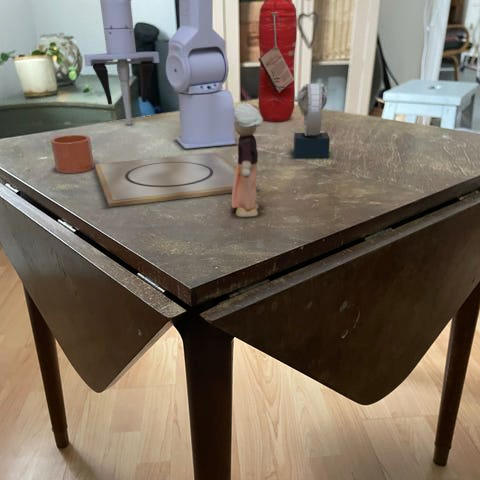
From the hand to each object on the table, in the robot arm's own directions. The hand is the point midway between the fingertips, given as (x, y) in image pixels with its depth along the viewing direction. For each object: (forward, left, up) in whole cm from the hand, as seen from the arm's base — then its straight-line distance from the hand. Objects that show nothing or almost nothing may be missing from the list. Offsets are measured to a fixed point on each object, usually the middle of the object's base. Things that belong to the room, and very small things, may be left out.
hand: (127, 102), depth 112 cm
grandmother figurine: (-6, +60, -5) cm, 60 cm away
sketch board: (0, +42, -4) cm, 42 cm away
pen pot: (+13, +31, -4) cm, 34 cm away
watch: (-25, +37, -5) cm, 45 cm away
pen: (0, 0, -5) cm, 5 cm away
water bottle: (-30, +8, -5) cm, 31 cm away
